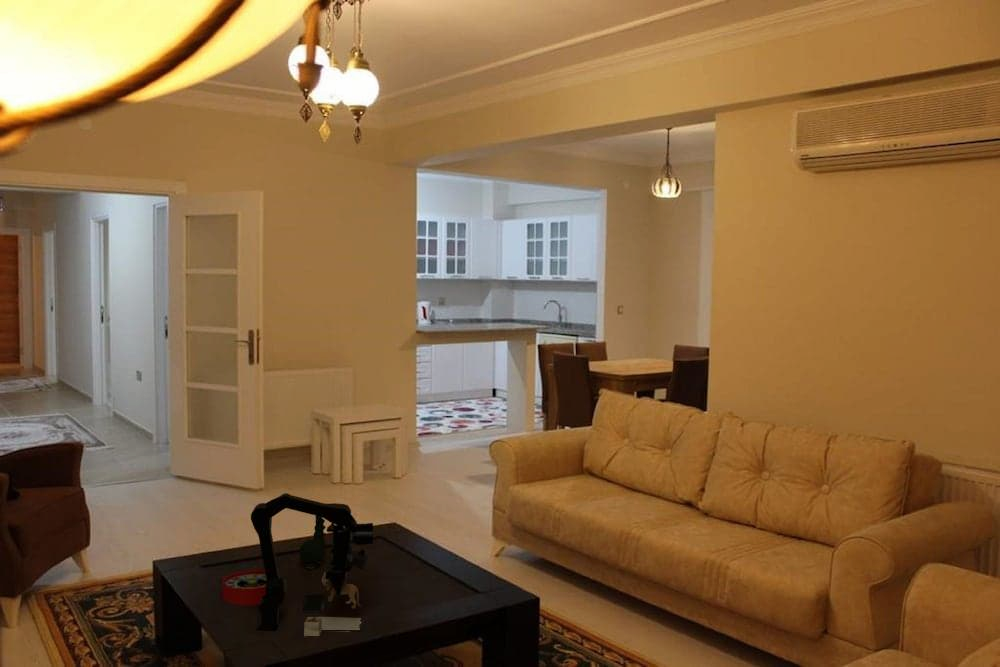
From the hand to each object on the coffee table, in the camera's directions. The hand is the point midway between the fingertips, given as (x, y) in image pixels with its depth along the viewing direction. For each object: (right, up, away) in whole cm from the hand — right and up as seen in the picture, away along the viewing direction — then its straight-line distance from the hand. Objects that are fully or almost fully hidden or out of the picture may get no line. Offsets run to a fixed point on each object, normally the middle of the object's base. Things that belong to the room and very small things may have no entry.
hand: (339, 592), depth 278 cm
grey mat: (0, -11, +1) cm, 11 cm away
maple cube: (-7, -11, -7) cm, 15 cm away
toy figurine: (-21, -7, +60) cm, 64 cm away
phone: (-12, -10, +18) cm, 24 cm away
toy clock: (-36, -9, +25) cm, 44 cm away
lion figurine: (-1, -3, 0) cm, 4 cm away
